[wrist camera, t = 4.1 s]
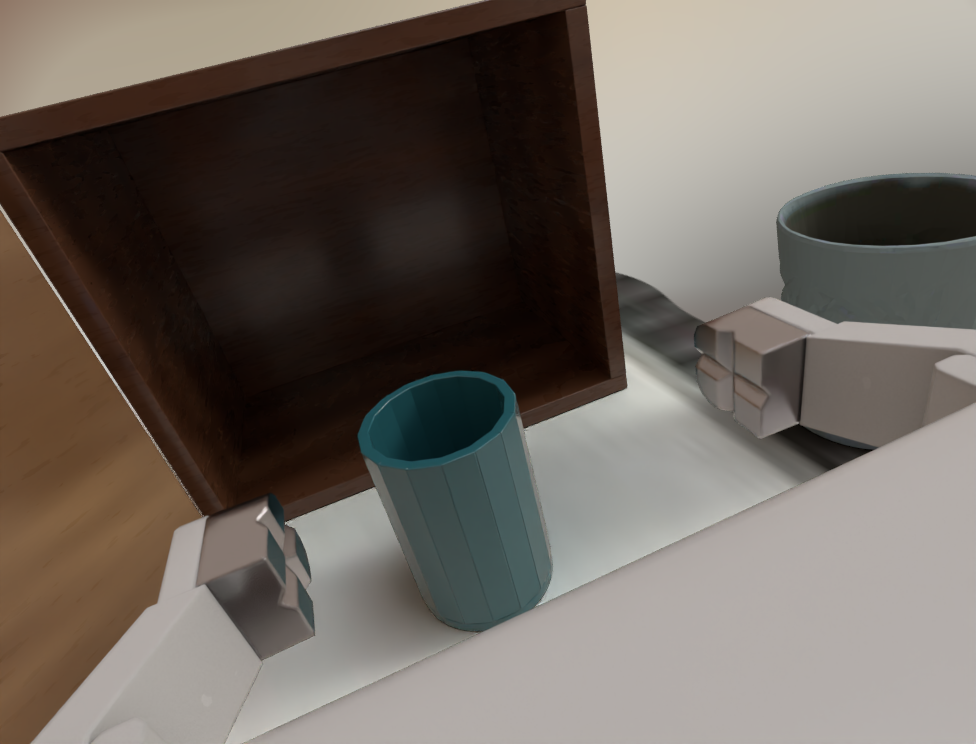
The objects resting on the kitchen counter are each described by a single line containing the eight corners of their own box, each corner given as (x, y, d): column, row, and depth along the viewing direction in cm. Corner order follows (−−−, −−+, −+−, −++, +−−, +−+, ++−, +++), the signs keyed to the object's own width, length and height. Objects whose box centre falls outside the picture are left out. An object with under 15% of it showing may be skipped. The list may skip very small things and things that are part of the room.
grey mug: (964, 367, 34) (1015, 164, 28) (992, 479, 27) (1069, 239, 21) (777, 355, 39) (786, 181, 33) (758, 448, 32) (766, 247, 26)
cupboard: (627, 387, 40) (584, -24, 28) (222, 546, 35) (-50, 128, 23) (530, 305, 55) (474, 16, 43) (239, 406, 50) (81, 113, 38)
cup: (576, 594, 27) (541, 426, 22) (440, 656, 25) (370, 493, 20) (522, 504, 32) (485, 355, 27) (410, 551, 31) (349, 403, 26)
